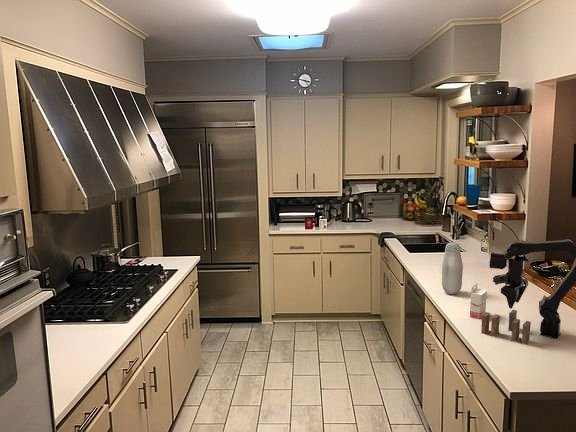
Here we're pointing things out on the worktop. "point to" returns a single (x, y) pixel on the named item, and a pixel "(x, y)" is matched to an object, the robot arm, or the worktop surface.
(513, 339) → the domino
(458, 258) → the gray bottle
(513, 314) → the gray domino
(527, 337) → the domino
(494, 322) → the domino
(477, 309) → the ink cartridge box
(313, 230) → the worktop surface
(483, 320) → the domino
